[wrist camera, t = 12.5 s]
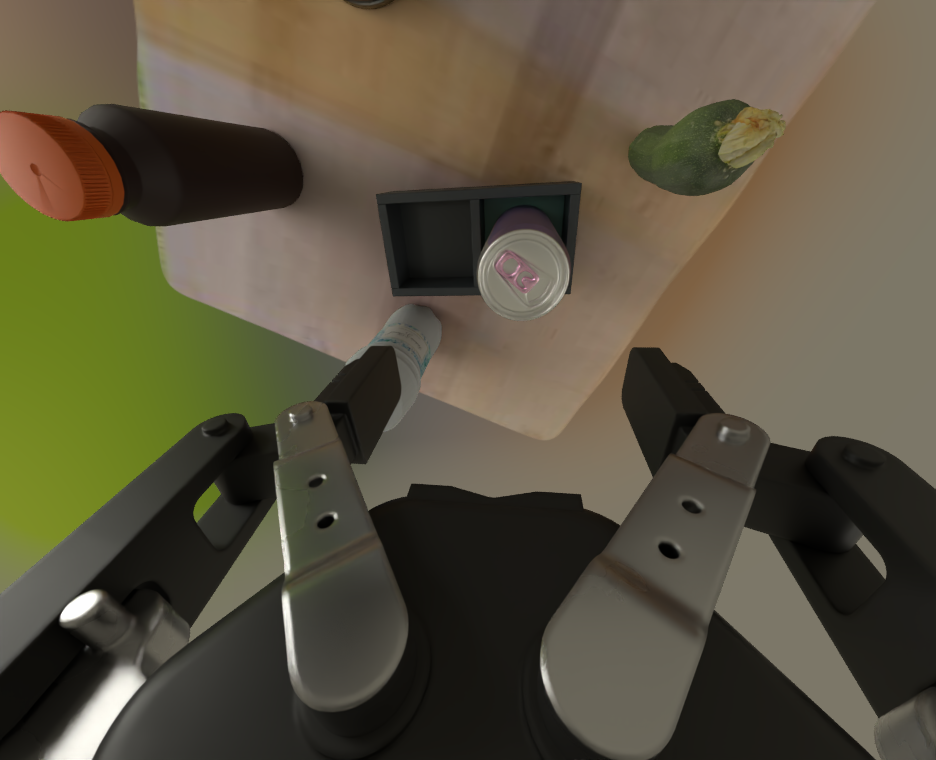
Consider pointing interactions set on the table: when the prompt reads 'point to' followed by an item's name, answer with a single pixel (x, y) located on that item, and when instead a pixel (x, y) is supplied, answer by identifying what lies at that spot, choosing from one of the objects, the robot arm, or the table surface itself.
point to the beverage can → (523, 265)
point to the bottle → (408, 351)
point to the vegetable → (705, 147)
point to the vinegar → (145, 166)
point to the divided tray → (461, 231)
